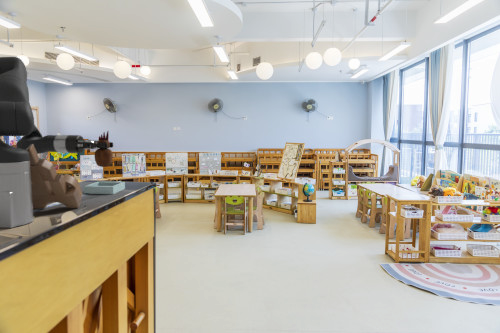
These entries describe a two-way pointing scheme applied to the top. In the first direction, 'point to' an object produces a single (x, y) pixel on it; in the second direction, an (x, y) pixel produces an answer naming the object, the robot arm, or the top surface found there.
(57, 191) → the wooden toy
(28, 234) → the top surface
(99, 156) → the wooden figurine
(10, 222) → the robot arm
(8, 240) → the top surface
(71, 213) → the top surface
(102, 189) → the pale teal tray
